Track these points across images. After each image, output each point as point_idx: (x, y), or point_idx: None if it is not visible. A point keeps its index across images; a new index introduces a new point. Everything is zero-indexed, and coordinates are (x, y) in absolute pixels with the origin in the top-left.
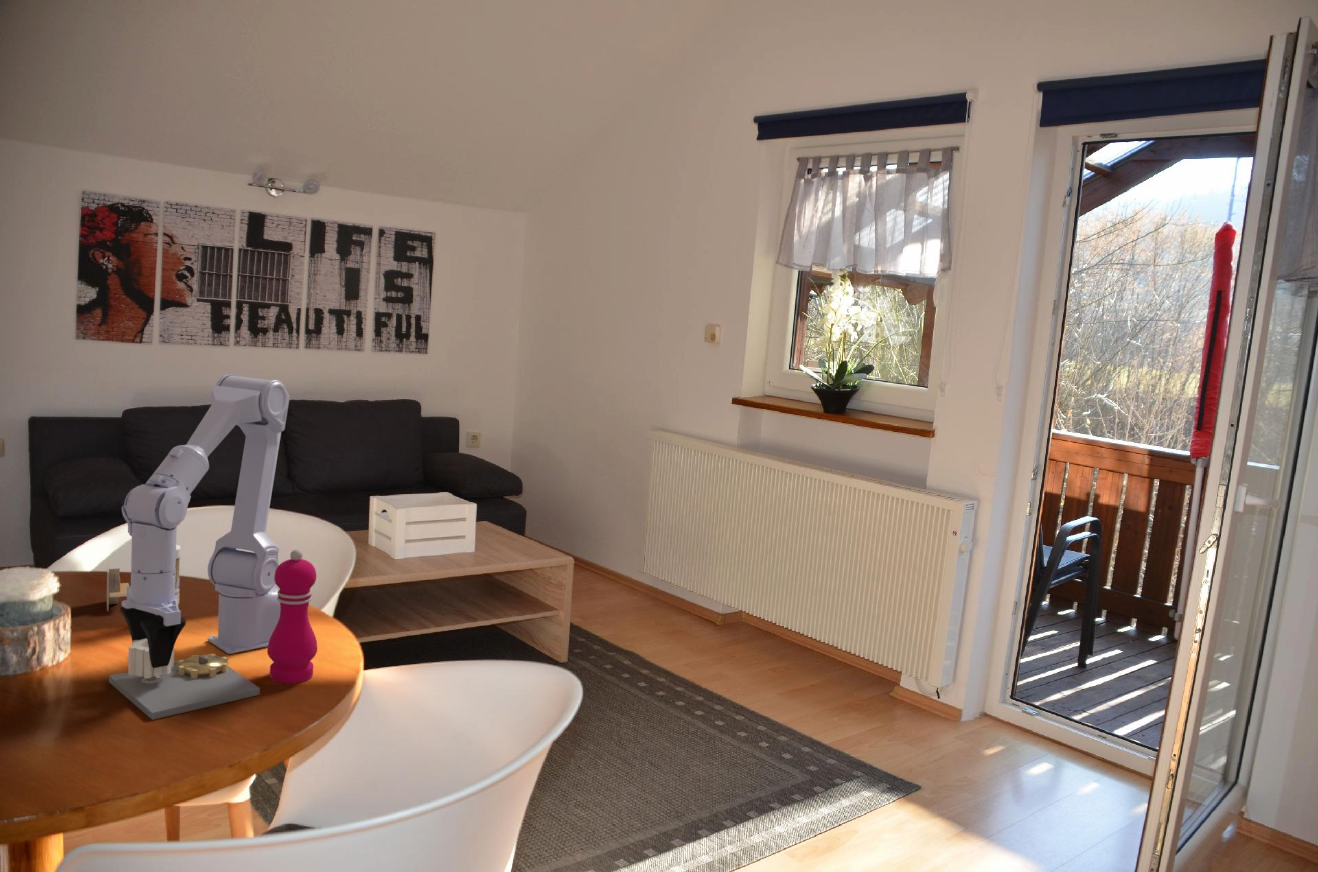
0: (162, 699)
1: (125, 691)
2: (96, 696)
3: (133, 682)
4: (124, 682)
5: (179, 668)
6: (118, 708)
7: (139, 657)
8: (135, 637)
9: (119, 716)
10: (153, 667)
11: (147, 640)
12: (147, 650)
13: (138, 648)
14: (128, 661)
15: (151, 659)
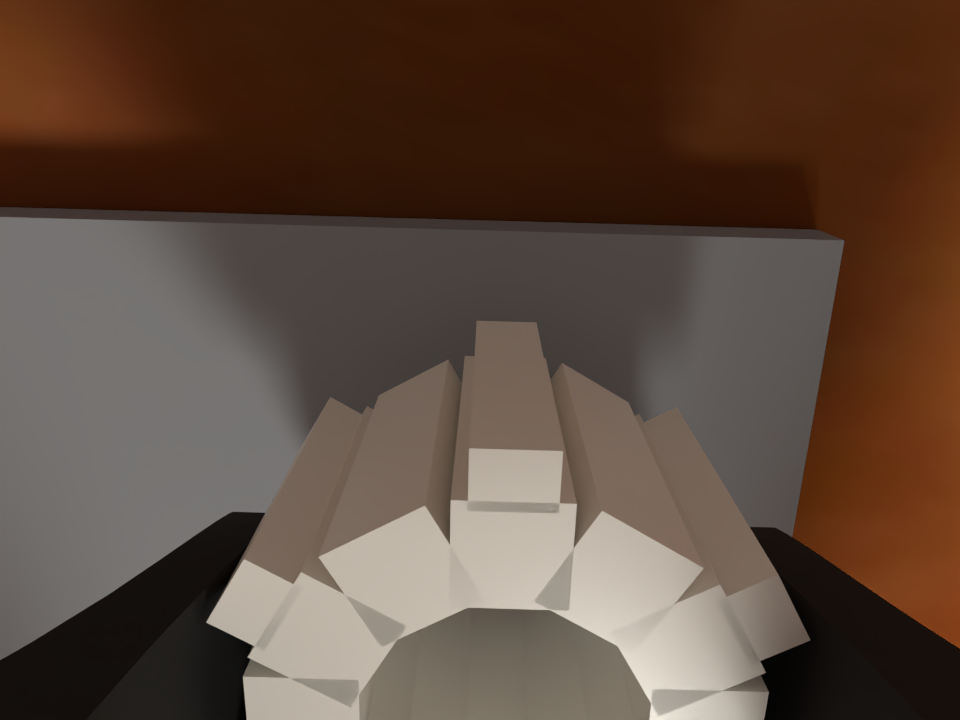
0: (41, 385)
1: (419, 225)
2: (568, 16)
3: (544, 346)
4: (590, 285)
5: None
6: (194, 71)
7: (382, 470)
8: (834, 658)
9: (13, 10)
10: (234, 512)
11: (91, 709)
12: (261, 595)
13: (410, 533)
14: (541, 366)
15: (194, 546)
